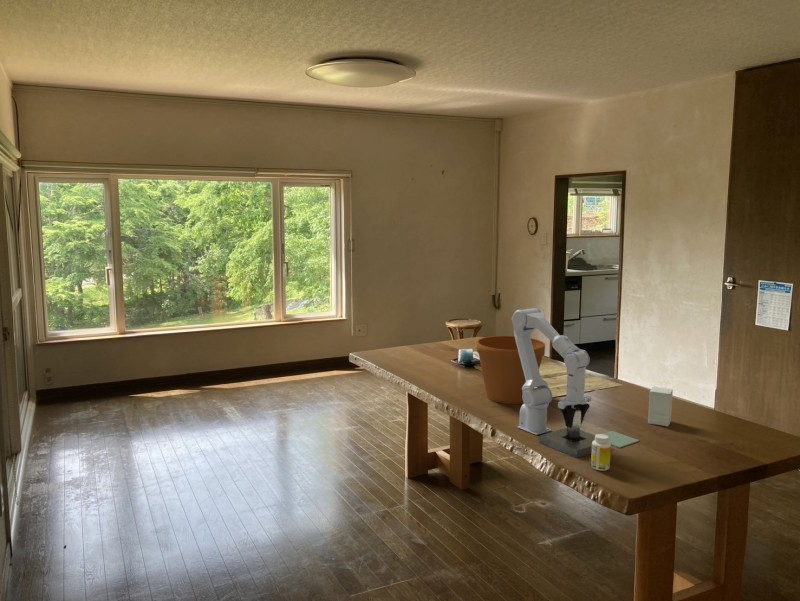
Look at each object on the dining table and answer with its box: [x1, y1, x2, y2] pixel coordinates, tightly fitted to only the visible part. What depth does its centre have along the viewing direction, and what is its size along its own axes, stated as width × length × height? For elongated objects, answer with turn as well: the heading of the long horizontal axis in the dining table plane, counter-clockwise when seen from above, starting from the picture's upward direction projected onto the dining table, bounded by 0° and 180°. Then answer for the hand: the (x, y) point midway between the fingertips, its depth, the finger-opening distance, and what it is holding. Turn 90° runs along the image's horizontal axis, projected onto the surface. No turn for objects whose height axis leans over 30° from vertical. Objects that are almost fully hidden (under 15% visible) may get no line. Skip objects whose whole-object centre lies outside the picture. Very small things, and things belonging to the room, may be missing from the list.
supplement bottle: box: [590, 433, 612, 472], centre depth 192 cm, size 6×6×10 cm
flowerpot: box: [476, 335, 546, 405], centre depth 262 cm, size 28×28×24 cm
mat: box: [603, 430, 640, 449], centre depth 216 cm, size 11×11×1 cm
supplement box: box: [647, 386, 674, 427], centre depth 233 cm, size 7×7×13 cm
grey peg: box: [566, 406, 582, 438], centre depth 210 cm, size 4×4×9 cm
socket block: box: [538, 427, 609, 459], centre depth 211 cm, size 16×16×2 cm
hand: (573, 425), depth 210 cm, fingers closed on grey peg, 4 cm apart
